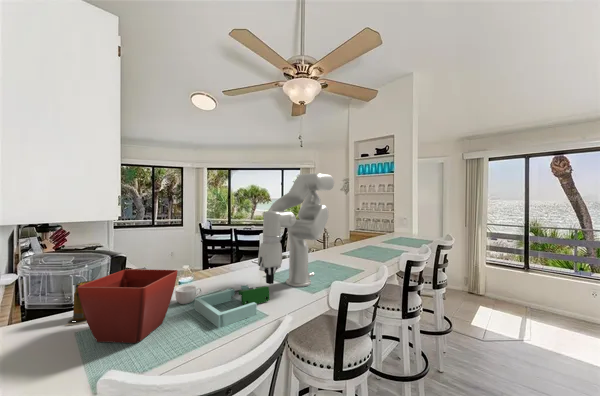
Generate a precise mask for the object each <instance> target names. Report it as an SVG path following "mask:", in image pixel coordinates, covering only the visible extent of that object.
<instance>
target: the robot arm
mask: <svg viewBox="0 0 600 396" xmlns="http://www.w3.org/2000/svg"><path fill="white" fill-rule="evenodd" d="M334 186H335V180H334V177H333V176H332V175H331V174H327V173H317V172H316V173H313V172H312V173H302V174H300V175H298V176H297V178H296V180H295V181H294V183H293V184H292V186H291V188H290V189H289V190H288V192H286V193H285V194H284V195H282V196H281V197H279V198H278V199H277V200H274V202H273V203H272V204H271V206H270V207H269V209H268V210H267V211H264V214H263V225H262V226H263V228H262V242H261V243H260V245H259V249H258V255H257V256H258V257H257V266H258V267H259V269H258V270H259V271H261V272H264V274H265V282H266V284H269V285H273V284H274V283H275V281H274V280H275V274H276V271H277V270H279V269H280V268H281V267H282V263H283V249H282V246H283V245H282V243H281V240H282V236H281V230H282V228H283V229H285V228H286V229H287V235H288V242H289V248H288V249H289V251H288V253H289V256H288V257H289V259H288V263H289V264H288V278H286V280H285V283H286V285H288V286H290V287H295V288H296V287H298V288H299V287H300V288H301V287H307V286H310V285H311V284H312V280H311V279H310V278H311V277H314V276H315V272H309V245H308V243H307V240H308V241H317V240H319V239H320V238H321V236H323V235H322V234H323V232H324V230H325V227H326V225H327V222H328V220H329V216H330V215H329V208H328V207H327V205H326V204H322V203H321V198H320V195H319V194H318V193H317V192H319V191H321V192H322V191H325V192H326V191H331V190H332V189H333V188H334ZM299 205H301V207H300V209H299V210H298V218H299V219H297V218H296V215H295V214H294V213H293V212H292V211H290V210H289V209H290V208H293V207H297V206H299ZM286 210H287V211H286ZM288 210H289V211H288Z"/></svg>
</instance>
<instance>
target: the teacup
mask: <svg viewBox="0 0 600 396" xmlns="http://www.w3.org/2000/svg"><path fill="white" fill-rule="evenodd" d="M198 290H199V292H198ZM174 291H175V292H174V293H175V300H176V301H177V303H178V304H181V305H187V304H191V303H192V302H193V301H194V298H197V296H198V295H200V294H201V293H202V289H201V288H200V287H197V286H196V285H189V284H188V285H182V286H178V287H175V288H174ZM197 292H198V293H197Z"/></svg>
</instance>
